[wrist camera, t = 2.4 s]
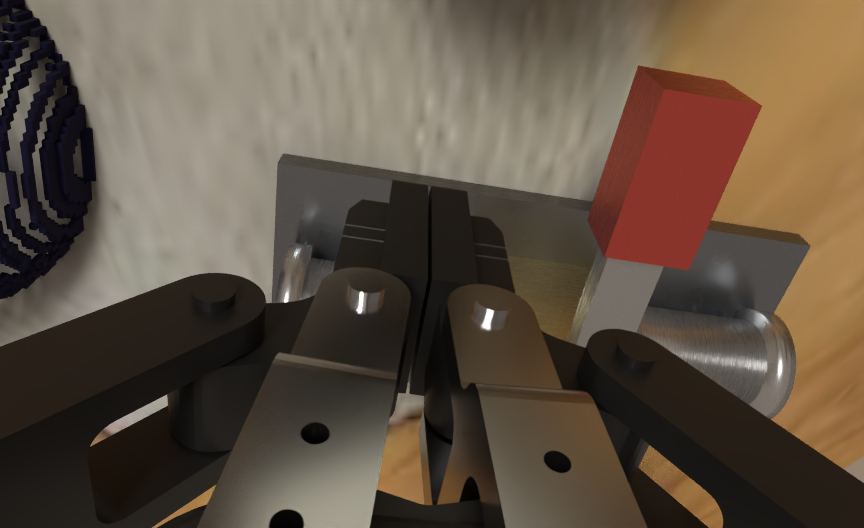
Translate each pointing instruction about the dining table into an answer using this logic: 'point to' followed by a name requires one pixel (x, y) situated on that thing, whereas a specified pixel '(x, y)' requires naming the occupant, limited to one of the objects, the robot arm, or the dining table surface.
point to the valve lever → (658, 190)
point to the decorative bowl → (41, 155)
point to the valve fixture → (574, 270)
